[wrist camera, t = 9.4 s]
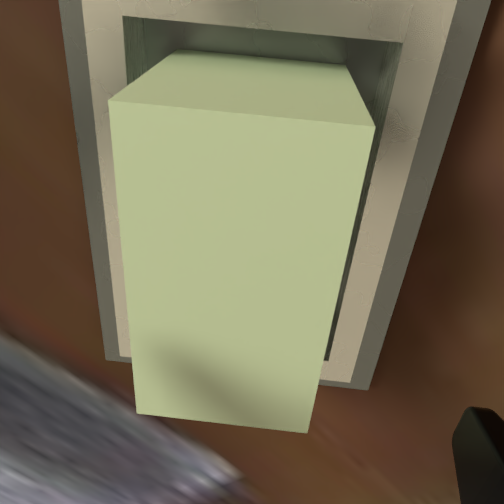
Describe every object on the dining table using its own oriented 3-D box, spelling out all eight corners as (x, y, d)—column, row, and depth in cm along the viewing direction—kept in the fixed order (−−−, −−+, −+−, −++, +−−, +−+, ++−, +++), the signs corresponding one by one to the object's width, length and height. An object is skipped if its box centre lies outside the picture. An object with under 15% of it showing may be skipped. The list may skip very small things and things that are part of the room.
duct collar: (366, 381, 21) (374, 428, 19) (109, 352, 21) (89, 394, 19) (520, -116, 11) (570, -133, 9) (46, -157, 12) (-8, -182, 10)
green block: (345, 65, 13) (375, 126, 8) (304, 303, 18) (307, 433, 13) (177, 49, 14) (107, 100, 9) (180, 289, 18) (136, 413, 13)
